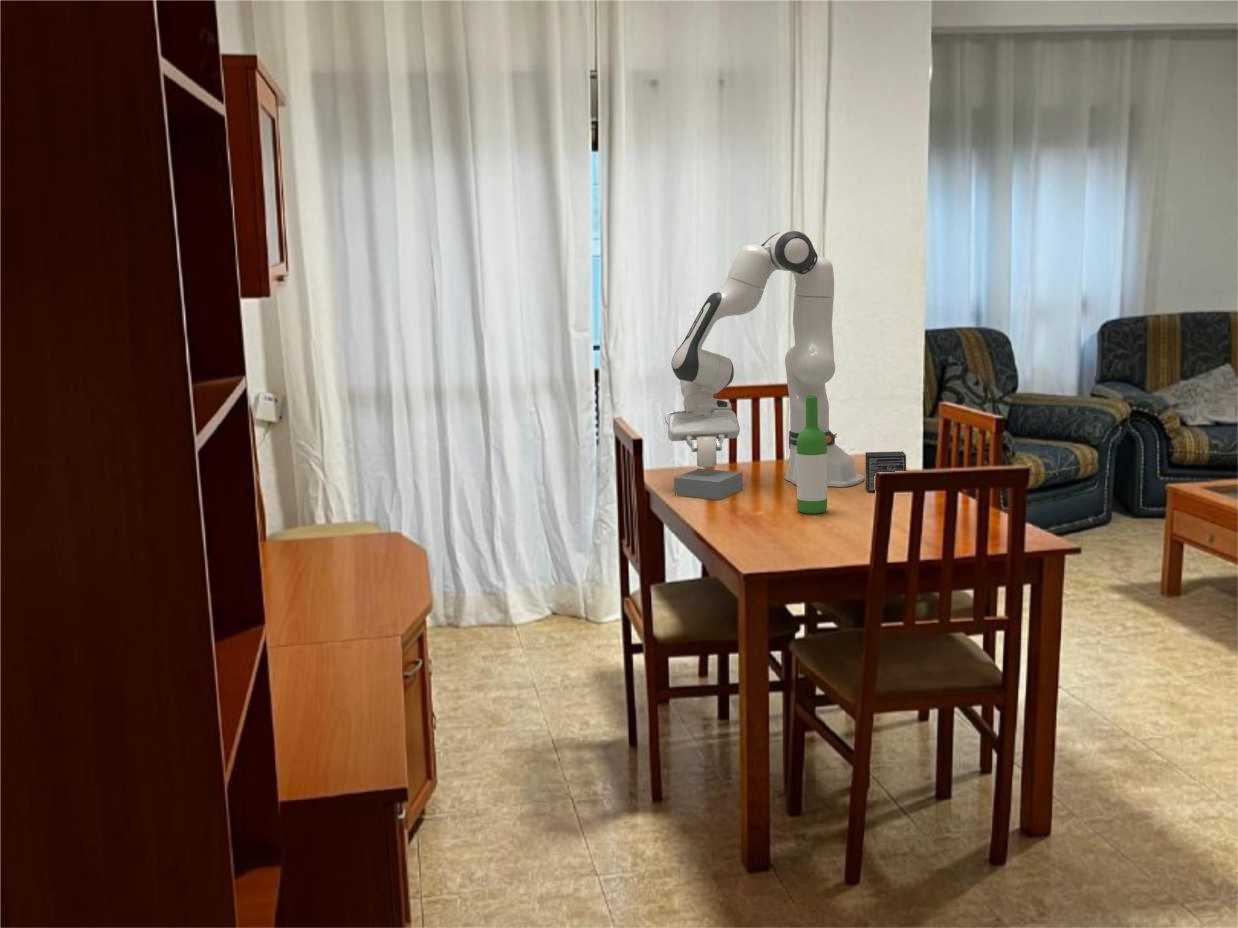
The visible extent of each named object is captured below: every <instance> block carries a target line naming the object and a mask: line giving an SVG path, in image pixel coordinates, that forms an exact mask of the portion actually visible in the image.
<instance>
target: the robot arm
mask: <svg viewBox="0 0 1238 928" xmlns="http://www.w3.org/2000/svg"><path fill="white" fill-rule="evenodd" d="M810 239H811V238H809V237H808V236H807V235H806V234H805V233H803V232H801V231H796V230H792V229H791V230H790V229H789V230H788V229H787V230H783V231H779V232H776V233H775V234H773V235H771V236H770V237H769V238H768V239H767V240H765V242H763V243H762V244H761V245H759V244H754V243H752V244H746V245H743V247H741V248H740V250H739V251H738V253H737V255H736V256H735V259H734V260H733V263H732V265H731V266H730V269H729V272H728V275H727V277H726V279H725V282H724V283H723V285H722V286H721V287H720V289H718V291H717V292H713V293H711V294H710V295H709V296H708V298H707V299H706V300H705V302H704V303H703V305H702V307H701V308H700V310H699V312H698V313H697V316H696V318H695V320H694V321H693V323H692V325H691V327H690V328H689V330H688V332H687V334H686V336H685V338H684V339H683V342H682V343H681V344H680V345H679V347H678V348H677V350H676V351H675V353H674V354H673V356H672V359H671V362H670V363H671V368H672V371H673V374H674V375H675V377H676V378H677V379H678V380H679V381H680V382H679V383H680V390H681V395H682V397H683V409H684V410H678V411H669V413H666V414H665V416H664V420H665V423H666V424H667V426H668V428H667V435H668V440H670V441H671V442H683V441H684V442H686V445H687V446H688V447H689V448H690V449H691V452H692V453H697V450H698V448H697V443H694V441H697V437H698V436H704V435H710V436H716V440H718V442H716V452H719V451H722V449H723V447H722V444H723V443H724V439H737V438H738V436H739V435H740V432H741V430H740V429H741V427H740V423H739V420H738V417H737V415H736V413H735V412H734V411H733V410H732V403H731V402H730V401H726V400H721V399H718V398H715V397H714V395H717V394H718V393H721V392H722V391H723V390H724V389H726V388H727V387H728V386H729V385H730V384H731V383H732V382H733V380H734V375H735V371H734V370H735V369H734V368H735V367H734V364H733V361H732V360H731V359H730V358H729V357H727V356H724V355H721V354H718V353H716V352H715V353H714V352H711V351H708V350H705V349H703V348H702V347H703V346H704V343H705V342H706V339H707V338H708V337H709V334H710V333H711V331H712V329H713V327H714V325H715V323H716V322H718V321H719V320H721V319H723V318H726V317H730V316H731V317H733V316H742V315H745V314H749V313H750V312H752V311H754V310H755V309H756V308H757V307H758V306H759V304H760V302H761V300H762V297H763V295H764V291H765V288H766V286H767V282H768V280H769V279H770V276H771V275H772V273H774V272H775V271H776V270H779V271H780V270H781V271H785V272H789V271H790V272H791V273H792V274H793V278H794V281H795V283H794V284H795V287H794V299H793V311H792V313H793V314H792V327H793V334H794V346H792V347H791V348H789V349H788V350H787V352H786V354H785V358H784V364H785V366H784V367H785V373H786V381H787V390H788V398H789V413H790V414H789V417H790V419H789V421H790V422H789V423H790V425H789V428H790V429H789V432H788V448H789V456H788V457H789V458H788V463H787V470H786V473H785V476H784V479H785V480H786V481H788V482H791V483H792V484H793V485H796V486H797V438H798V435H799V434H800V432H801V431H802V430H803V429H804V428H805V427H806V396H817V409H818V428H819V429H821V430H822V431H823V432H824V434H825V436H826V439H827V487H834V488H835V487H839V488H840V487H841V488H846V487H852V486H856V485H858V484H860V483H862V482H863V481H864V480H865V479H864V478H865V477H864V475H863V474H859V473H857V470H856V464H855V461H854V459H853V457H852V456H851V455H849V454H848V453H847V452H845V450H843V449H842V448H841V447H840V446H839V445H837V444H836V438H837V437H838V436H837V435H838V433H833V432H832V431H831V430H830V403H829V399H828V396H827V395H828V394H827V389H826V384H827V383H828V382H829V381H831V379H832V378H833V377H834V375H835V372H836V363H835V352H834V351H835V348H834V338H833V337H834V336H833V335H834V334H833V313H834V300H835V299H834V298H835V276H834V268H833V264H832V262H831V261H830V260H829V259H828V258H826V257H823V256H819V255H818V253H817V251H816V249H815V247H814V245H813V243H812V241H811V240H810Z"/></svg>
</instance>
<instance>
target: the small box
mask: <svg viewBox="0 0 1238 928" xmlns="http://www.w3.org/2000/svg"><path fill="white" fill-rule="evenodd" d="M895 471H906V472H907V454H906V453H905V452H904V451H902V450H901V451H874V452H873V451H868V452H865V490H866V492H867V493H868V494H872V493H873V494H874V493H875V490H874V476H875V473H877V472H895ZM875 494H876V493H875Z"/></svg>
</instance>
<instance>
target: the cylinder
mask: <svg viewBox="0 0 1238 928" xmlns="http://www.w3.org/2000/svg"><path fill="white" fill-rule="evenodd" d="M716 443H717V439H716V436H710V435H704V436H698V437H697V440H696V444H697V448H698V450H697V452H696V466H697V467H700V468H712V467H716V466H718V461H717V459H718V458H717V451H716Z"/></svg>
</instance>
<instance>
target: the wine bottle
mask: <svg viewBox="0 0 1238 928" xmlns="http://www.w3.org/2000/svg"><path fill="white" fill-rule="evenodd" d="M796 508H797V511H799V512H800V513H802V514H808V515H816V514H822V513H825V512H826V511H827V510H828V486H827V439H826V436H825V434H824V432H823V431H822V430H821V429H819V428H818V409H817V396H806V427H805V428H804V429H803V430H802V431H801V432H800V434H799V435H798V438H797V485H796Z"/></svg>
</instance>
